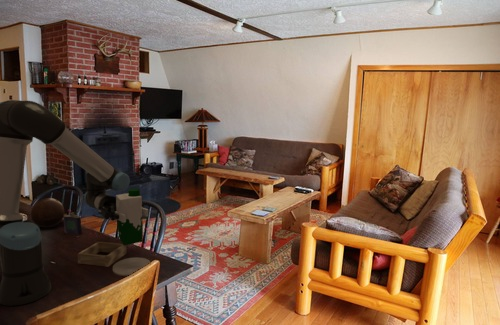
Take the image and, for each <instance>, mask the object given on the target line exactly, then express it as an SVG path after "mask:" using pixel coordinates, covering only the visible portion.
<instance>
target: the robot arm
mask: <svg viewBox="0 0 500 325" xmlns="http://www.w3.org/2000/svg"><path fill="white" fill-rule="evenodd" d="M34 138H35V139H37V140H39V141H40V142H41V143H43V144H44V145H46V146H47V145H50V146H52V147H53V148H55V149H56V150H57V151H58V152H60V153H62V154H63V155H64V156H66V157H67V158H68V159H69V160H71V161H72V162H74V163H75V164H76V165H78V166H79V167H80V168H81V169H83V170H85V180H86V191H85V193H84V195H83V201H84V203H85V204H86V206H89V207H90V208H94V209H95V210H98V211H97V212H98V214H99V215H102V217H103V218H104V219H105V220H111V221H115V220H116V221H117V220H119V221H122V222H126V215H124V214H122V213H118V212H117V211H116V196H114V195H111V194H109V193H107V190H112V191H115V192H117V191H118V192H124V191H125V190H127V189H128V188H129V185H130V183H131V180H130V176H129V175H128V174H127V173H126V172H122V171H118V170H117V169H116V168H115V167H113V166H112V165H111V164H110V163H109V162H107V161H106V160H105V159H104V158H103V157H101V156H100V155H99V154H98V153H97V152H95V151H94V150H93V149H92V148H91V147H89V146H88V145H87V144H86V143H84V141H82V139H80V138H78V136H76V135H75V134H74V133H73V132H72V131H71V130H69V129H68V128H67V124H66V123H65V122H64V121H63V120H61V119H60V118H59V117H58V116H57V115H56V114H54V112H52V111H51V110H49V109H48V108H46V106H44V105H43V104H41V103H39V102H36V101H33V100H15V99H14V100H13V99H9V100H4V101H2V102H1V101H0V268H1V279H0V305H3V306H7V307H8V306H10V307H14V306H22V305H25V304H30V303H34V302H35V301H38V300H40V299H42V298H44V297H45V296H47V295H48V294H49V293H50V292H51V290H52V283H51V279H50V278H49V275H48V274H47V272H46V270H45V268H44V258H43V256H44V255H43V243H42V238H43V237H42V233H41V229H40V226H38V225H37V224H35V223H33V222H30V221H29V222H28V221H25V222H24V221H23V220H24V216H23V215H22V214H20V211H19V210H20V204H21V195H22V188H23V182H24V181H23V180H24V172H25V164H26V163H25V162H26V156H27V147H28V145H30V144H31V143H33V139H34ZM142 216H144V217H147V218H148V217H149V209H148V208H146V207H145V204H144V203H142ZM110 218H111V219H110Z"/></svg>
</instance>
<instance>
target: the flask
mask: <svg viewBox="0 0 500 325" xmlns="http://www.w3.org/2000/svg"><path fill="white" fill-rule="evenodd" d="M63 226H64V227H63V228H64V234H66V235H75V236H81V235H82V234H83V233H82V221H81V216H79V215H76V214H75V212H73V211H72V212H70V213H69V214H67V215H66V214H64V216H63Z"/></svg>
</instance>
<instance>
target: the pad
mask: <svg viewBox="0 0 500 325" xmlns="http://www.w3.org/2000/svg"><path fill="white" fill-rule="evenodd" d="M148 263H150V264H151V261H150V260H149V259H147V258H145V257H128V258H123V259H121V260H119V261H116V262H114V263H113V264H112V265H113V266H112V272H113V273H114V274H115V275H117V276H123V277H129V276H128V275H130V274H132V273H133V272H135V271H137V270H138V269H140V268H142V267H144V266H145V265H147V264H148Z"/></svg>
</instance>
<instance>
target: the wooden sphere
mask: <svg viewBox="0 0 500 325" xmlns="http://www.w3.org/2000/svg"><path fill="white" fill-rule="evenodd" d="M63 216H65V208H64V205H63V203H62V202H60V200H57V199H55V198H52V197H47V198H46V197H45V198H42V199H40V200H38V201H36V203H34V205H33V206H32V208H31V210H30V217H31V220H32V221H33V222H34V224H36V225H37V226H38V227H39V228H40V227H41V228H45V229H47V228H53V227H55V226H57V225H58V224H60V223H61V222H62V220H64V218H63ZM33 222H32V223H33Z"/></svg>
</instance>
